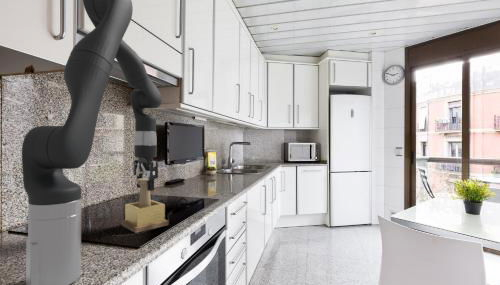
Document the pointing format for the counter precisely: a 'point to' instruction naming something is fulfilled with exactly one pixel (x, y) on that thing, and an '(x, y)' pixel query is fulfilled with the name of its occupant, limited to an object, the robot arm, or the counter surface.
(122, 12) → the robot arm
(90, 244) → the counter surface
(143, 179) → the handle
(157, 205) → the sleeve block
